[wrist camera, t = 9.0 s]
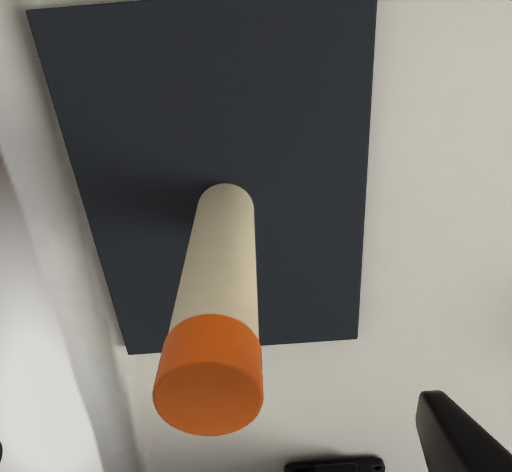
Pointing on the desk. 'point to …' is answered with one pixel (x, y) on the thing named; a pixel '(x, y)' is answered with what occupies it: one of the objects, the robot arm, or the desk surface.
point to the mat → (219, 147)
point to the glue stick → (214, 323)
